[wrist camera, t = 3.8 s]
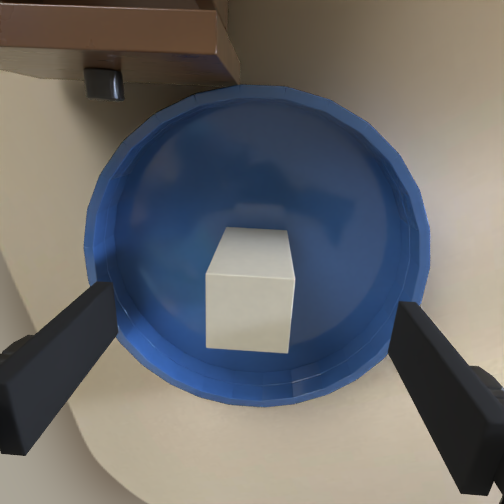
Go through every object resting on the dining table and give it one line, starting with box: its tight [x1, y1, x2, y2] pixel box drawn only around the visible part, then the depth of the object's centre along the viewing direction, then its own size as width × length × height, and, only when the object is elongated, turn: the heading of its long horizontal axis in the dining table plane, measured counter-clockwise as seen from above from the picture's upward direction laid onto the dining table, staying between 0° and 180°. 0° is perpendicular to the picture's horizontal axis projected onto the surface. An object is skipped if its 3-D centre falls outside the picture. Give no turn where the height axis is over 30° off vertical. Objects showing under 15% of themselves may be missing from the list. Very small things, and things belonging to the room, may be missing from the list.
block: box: [206, 227, 295, 353], centre depth 19 cm, size 4×4×8 cm
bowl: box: [84, 84, 430, 407], centre depth 21 cm, size 20×20×4 cm
